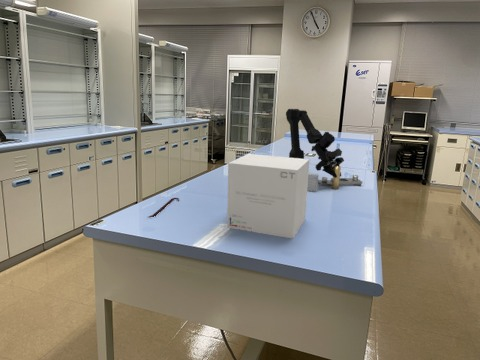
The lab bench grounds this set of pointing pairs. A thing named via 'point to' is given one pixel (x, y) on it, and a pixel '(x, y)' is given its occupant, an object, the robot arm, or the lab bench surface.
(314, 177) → the medicine box
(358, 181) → the metal bracket
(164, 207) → the crowbar
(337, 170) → the brass pin
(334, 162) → the robot arm
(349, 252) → the lab bench surface
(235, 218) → the cube
